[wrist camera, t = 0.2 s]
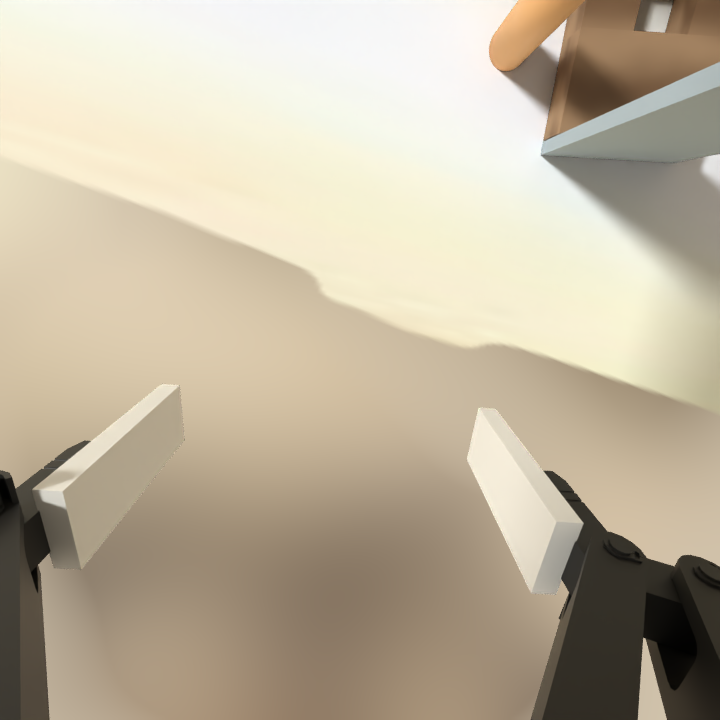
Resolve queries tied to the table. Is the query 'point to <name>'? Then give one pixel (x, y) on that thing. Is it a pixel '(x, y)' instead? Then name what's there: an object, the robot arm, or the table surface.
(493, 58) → the peg
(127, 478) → the robot arm
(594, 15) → the socket board
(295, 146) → the table surface
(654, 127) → the grey l-shaped bracket
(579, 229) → the table surface
